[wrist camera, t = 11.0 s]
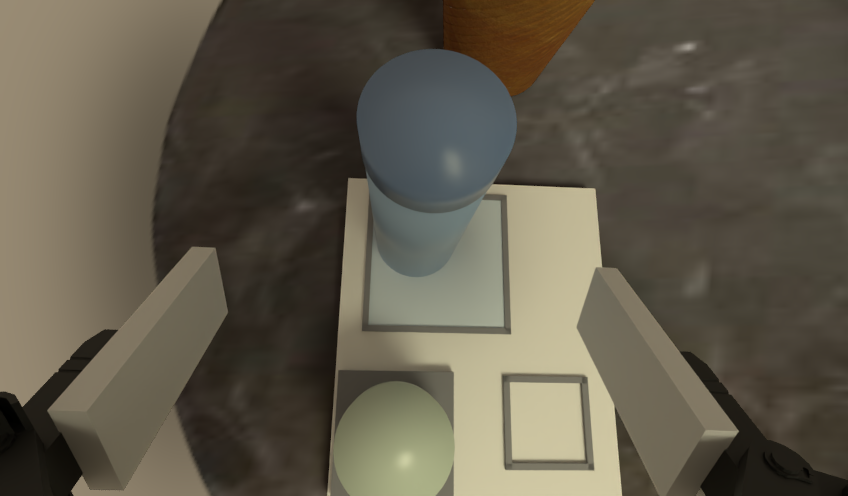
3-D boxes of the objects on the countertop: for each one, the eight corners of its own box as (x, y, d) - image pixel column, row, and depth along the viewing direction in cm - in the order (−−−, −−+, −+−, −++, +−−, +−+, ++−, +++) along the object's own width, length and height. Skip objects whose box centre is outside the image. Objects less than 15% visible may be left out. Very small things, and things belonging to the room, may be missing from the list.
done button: (448, 381, 20) (454, 384, 18) (448, 498, 19) (454, 514, 17) (343, 380, 20) (337, 382, 18) (335, 498, 18) (329, 514, 16)
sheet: (589, 193, 25) (599, 185, 24) (614, 495, 21) (627, 503, 20) (349, 183, 25) (347, 174, 23) (329, 495, 21) (325, 504, 19)
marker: (455, 202, 24) (514, 54, 12) (455, 279, 23) (519, 196, 11) (377, 199, 24) (361, 44, 12) (373, 276, 22) (351, 188, 11)
